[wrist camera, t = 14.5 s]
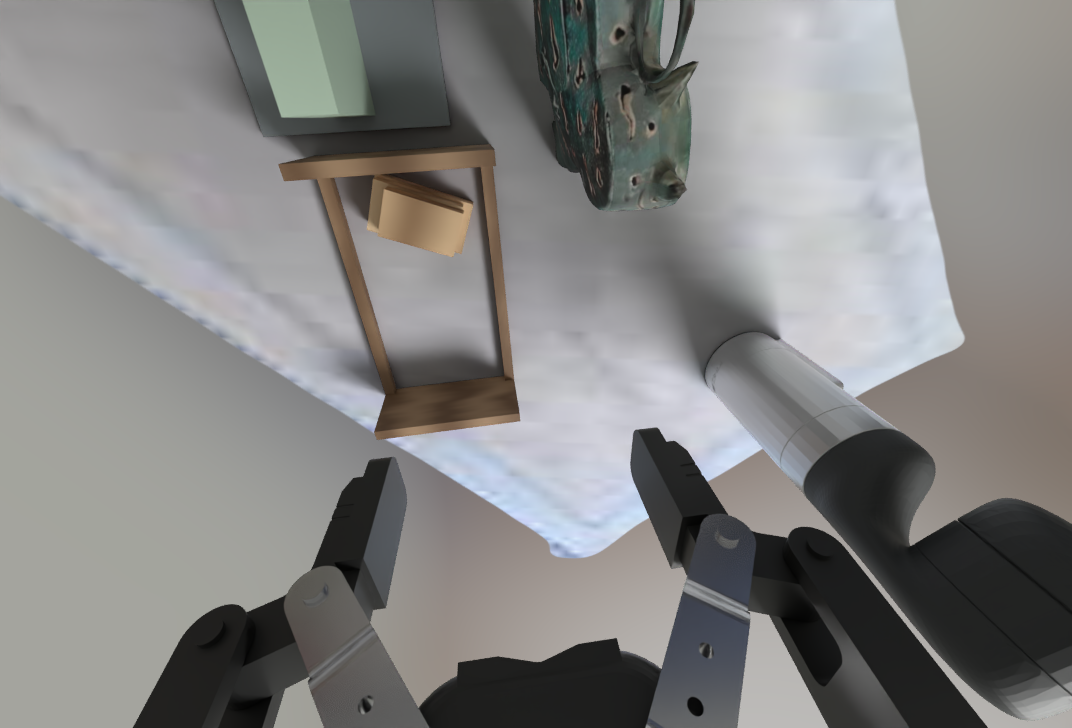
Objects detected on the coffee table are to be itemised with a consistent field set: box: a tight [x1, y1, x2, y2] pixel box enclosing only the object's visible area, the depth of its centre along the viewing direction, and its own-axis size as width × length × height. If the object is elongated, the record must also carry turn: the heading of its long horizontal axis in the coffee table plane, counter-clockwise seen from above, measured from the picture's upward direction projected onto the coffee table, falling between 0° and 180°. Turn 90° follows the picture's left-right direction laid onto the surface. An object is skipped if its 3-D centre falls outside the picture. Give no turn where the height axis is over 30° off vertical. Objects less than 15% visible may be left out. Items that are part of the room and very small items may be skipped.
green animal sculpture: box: [533, 0, 699, 211], centre depth 21 cm, size 20×6×20 cm, turn 9°
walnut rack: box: [278, 144, 520, 440], centre depth 36 cm, size 14×24×7 cm, turn 3°
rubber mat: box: [214, 0, 451, 137], centre depth 27 cm, size 14×14×1 cm
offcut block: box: [367, 174, 473, 257], centre depth 33 cm, size 8×4×4 cm, turn 71°
